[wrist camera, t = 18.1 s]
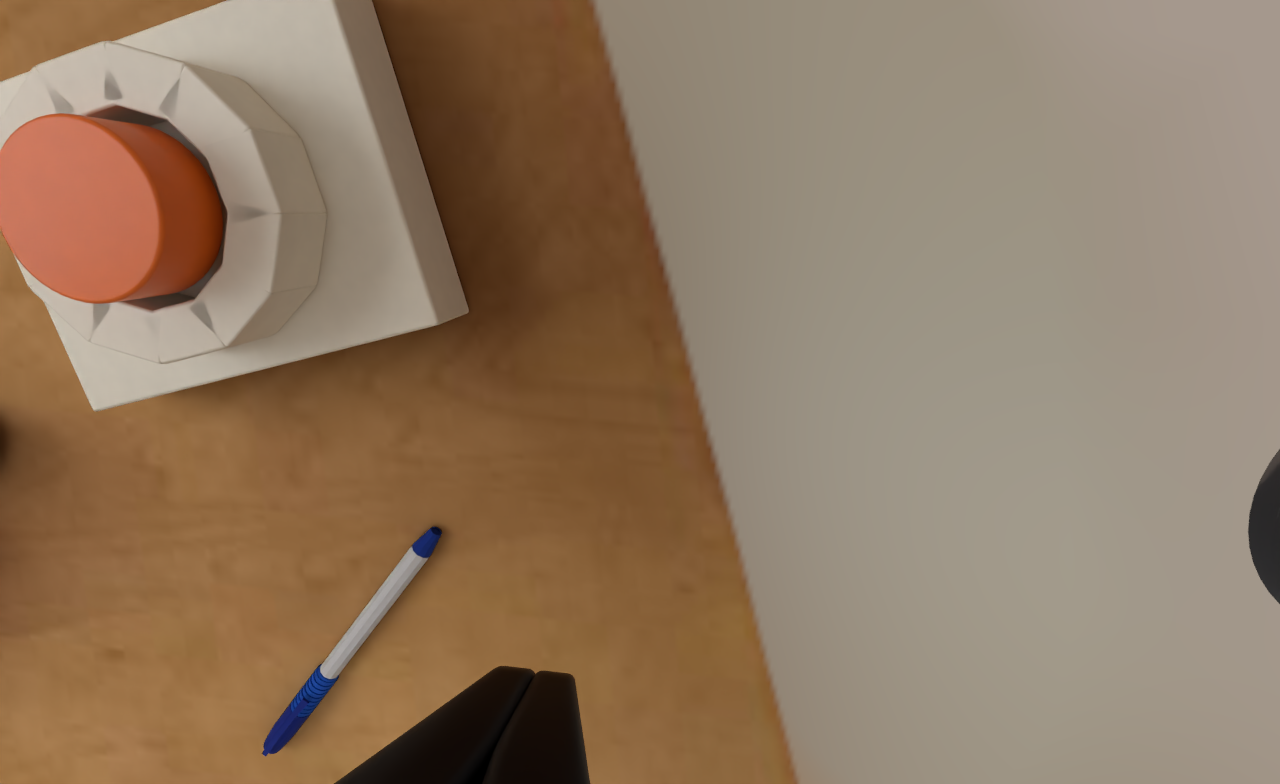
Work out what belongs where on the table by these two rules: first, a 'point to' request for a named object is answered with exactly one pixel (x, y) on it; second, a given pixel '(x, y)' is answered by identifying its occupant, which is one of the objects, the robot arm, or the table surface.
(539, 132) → the table surface
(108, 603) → the table surface
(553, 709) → the robot arm
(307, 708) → the ballpoint pen
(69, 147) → the button
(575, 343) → the table surface
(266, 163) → the button block
